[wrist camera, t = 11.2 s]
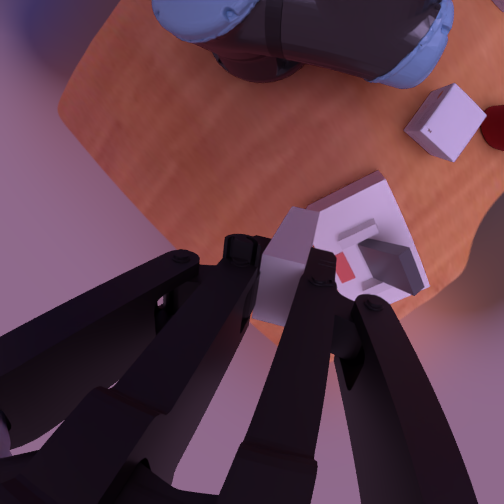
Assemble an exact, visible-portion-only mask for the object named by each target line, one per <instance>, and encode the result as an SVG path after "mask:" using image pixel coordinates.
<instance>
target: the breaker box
mask: <svg viewBox="0 0 504 504" xmlns="http://www.w3.org/2000/svg"><path fill="white" fill-rule="evenodd" d="M306 209H307V210H312V211H316V212H320V214H319V218H318V223H317V228H316V232H315V237H314V241H313V245H314V246H315V248H317V249H321V250H325V251H329V252H333V253H334V255H335V256H336V258H337V262H336V275H335V282H336V284H337V289H338V291H339V293H340V294H341V295H343V296H344V297H346V298H348V299H351V300H353V301H355V299H356V297H357V296H358V295H361V294H371V295H377V296H378V297H381V298H383V299H384V300H385V301H387V302H388V303H389V304H391V303H394V302H396V301H398V300H401V299H403V298H405V297H408V296H410V295H411V294H409V293H407V292H404V291H402V290H400V289H397V288H395V287H393V286H391V285H388V284H386V283H384V282H382V281H379V280H377V279H375V278H373V276H372V274H371V272H370V270H369V268H368V266H367V264H366V261H365V259H364V257H363V255H362V253H361V251H360V249H359V247H358V243H359V242H361V241H363V240H365V239H367V238H369V239H374V240H379V241H383V242H388V243H393V244H397V245H402V246H406V247H410V250H411V252H412V255H413V257H414V260H415V262H416V265H417V268H418V270H419V273H420V276H421V278H422V281H423V284H424V288H423V289H426V288H428V287H430V285H429V282H428V279H427V276H426V274H425V271H424V268H423V265H422V263H421V260H420V257H419V255H418V252H417V250H416V247H415V245H414V242H413V240H412V237H411V235H410V232H409V230H408V228H407V225H406V223H405V220H404V218H403V216H402V214H401V211H400V209H399V207H398V205H397V202H396V200H395V198H394V196H393V194H392V192H391V190H390V187H389V185H388V183H387V181H386V179H385V178H384V177H383V175H382V174H381V173H380V172H379V170H377V171H375V172H373V173H371V174H369V175H367V176H365V177H363V178H361V179H359V180H357V181H355V182H353V183H351V184H349V185H347V186H345V187H343V188H341V189H339V190H337V191H335V192H333V193H331V194H330V195H328V196H326V197H324V198H322V199H320V200H318V201H316V202H314V203H312V204H310V205H308V206H307V208H306ZM423 289H422V290H423Z"/></svg>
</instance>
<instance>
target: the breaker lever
mask: <svg viewBox="0 0 504 504" xmlns="http://www.w3.org/2000/svg"><path fill="white" fill-rule="evenodd" d="M358 247H359V249H360V251H361V253H362V255H363V257H364V259H365V261H366V264H367V266H368V268H369V270H370V272H371V274H372V276H373V278H375V279H377V280H379V281H382V282H384V283H386V284H388V285H391V286H393V287H395V288H397V289H400V290H402V291H404V292H407V293H409V294H411V295H413V296H415V295H416V294H417V293H418V292H420V291H421V290H422V289H423V288H424V284H423V281H422V278H421V276H420V273H419V270H418V268H417V265H416V262H415V260H414V257H413V255H412V252H411V250H410V247H406V246H402V245H397V244H393V243H388V242H383V241H379V240H374V239H369V238H367V239H365V240H363V241H361V242H359V243H358Z"/></svg>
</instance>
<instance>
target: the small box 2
mask: <svg viewBox="0 0 504 504" xmlns="http://www.w3.org/2000/svg"><path fill="white" fill-rule="evenodd" d="M492 1H493V2H494V4H495V5H496V6H497V7H498V8H499V9H500V10H501V11H502V12H504V0H492Z"/></svg>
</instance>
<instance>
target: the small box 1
mask: <svg viewBox="0 0 504 504" xmlns="http://www.w3.org/2000/svg"><path fill="white" fill-rule="evenodd" d="M486 116H487V115H486V114H485V113H484V112H483V111H482V109H481V108H480V107H479V106H478V105H477V104H476V103H475V102H474V101H473V100H472V99H471V98H470V97H469V96H468V95H467V94H466V93H465V92H464V91H463V90H462V89H461V88H460V87H459V86H458V85H457V84H455V83H453V84H450V85H447V86H445V87H442V88H439V89H437V90H434V91H432V92H431V93H430V94H429V96H428V97H427V99H426V100H425V101H424V103H423V104H422V106H421V107H420V108H419V110H418V111H417V112H416V114H415V115H414V117H413V118H412V119H411V121H410V122H409V123H408V125H407V126H406V127H405V129H404V132H406V133H407V134H408V135H409V136H410V137H411V138H412V139H414V140H415V141H416V142H417V143H418V144H419V145H420V146H421V147H423V148H424V149H425V150H426V151H427V152H428V153H429V154H430V155H433V156H436V157H439V158H442V159H445V160H448V161H451V162H455V161H456V159H457V158H458V157H459V155H460V154H461V152H462V151H463V150H464V148H465V147H466V145H467V144H468V143H469V141H470V140H471V138H472V137H473V135H474V134H475V133H476V131H477V130H478V128H479V127H480V125H481V124H482V122H483V121H484V119H485V118H486Z"/></svg>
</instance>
